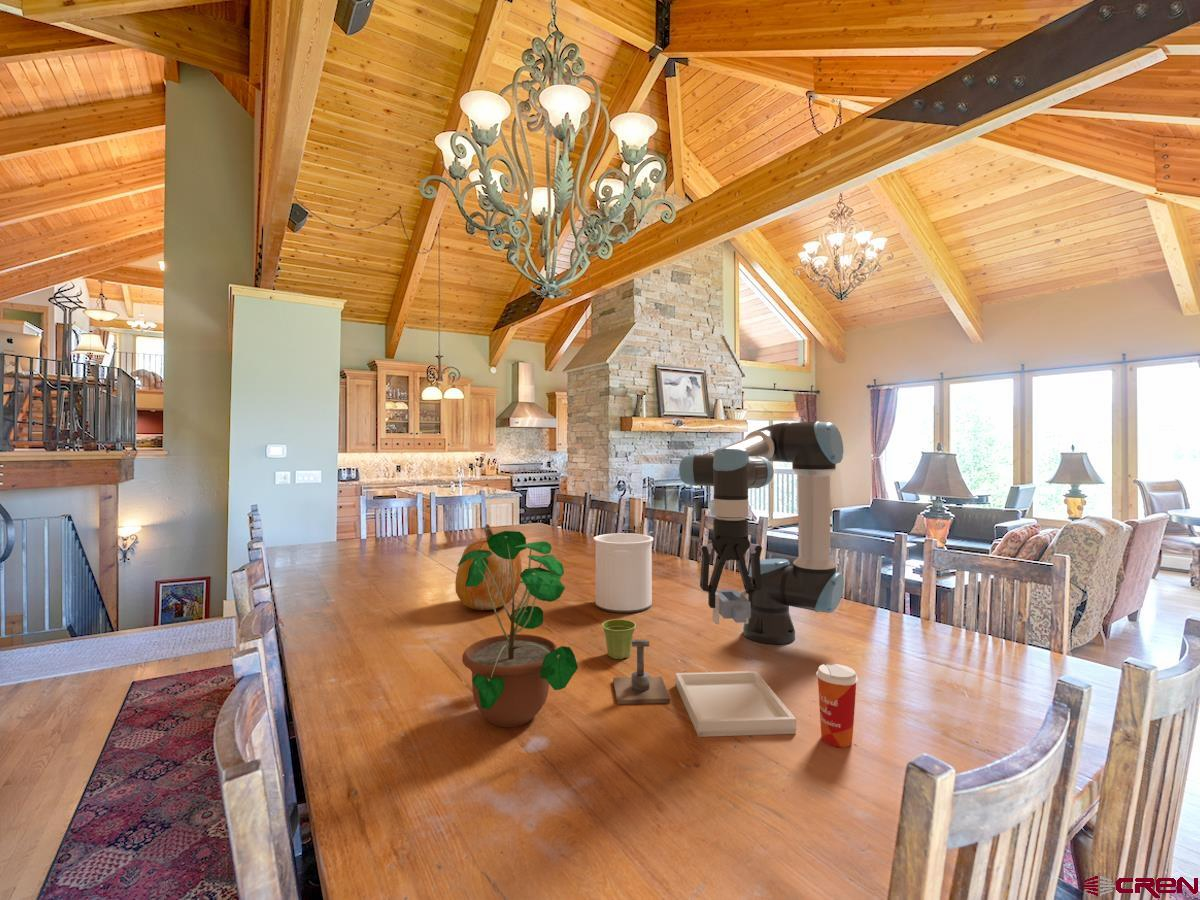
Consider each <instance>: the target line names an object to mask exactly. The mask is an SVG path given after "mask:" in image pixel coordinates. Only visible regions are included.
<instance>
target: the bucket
mask: <svg viewBox="0 0 1200 900" xmlns="http://www.w3.org/2000/svg"><path fill="white" fill-rule="evenodd" d="M593 541H594V542H595V605H596V606H597V607H598V608H599V609H601V610H602V611H606V612H611V613H616V614H617V613H618V614H619V613H620V614H631V613H638V612H643V611H646V610H647V609H649V608H650V607H651V606H652V602H653V601H652V593H653V592H652V590H653V589H652V588H653V586H652V585H653V584H652V580H653V578H652V573H653V572H652V569H653V567H652V566H653V565H652V564H653V563H652V556H653V555H652V548H653V547H652V543H653V541H654V537H653V536H651V535H646V534H643V533H641V534H640V533H630V532H629V533H628V532H626V533H625V532H623V533H619V532H618V533H617V532H616V533H615V532H613V533H605V534H600V535H596V536H594V537H593Z"/></svg>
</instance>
